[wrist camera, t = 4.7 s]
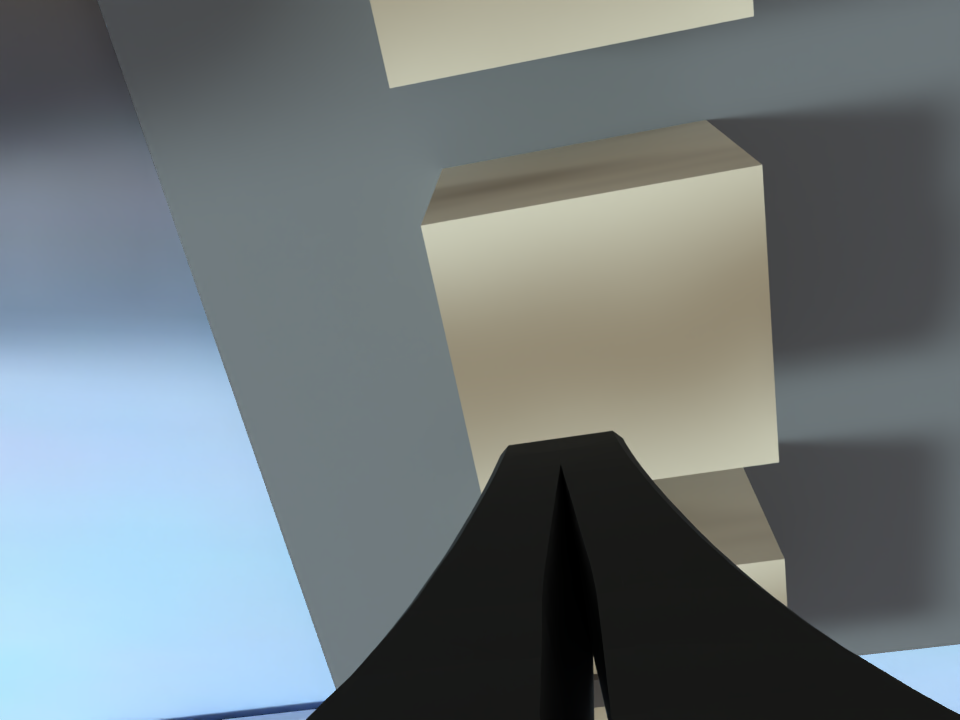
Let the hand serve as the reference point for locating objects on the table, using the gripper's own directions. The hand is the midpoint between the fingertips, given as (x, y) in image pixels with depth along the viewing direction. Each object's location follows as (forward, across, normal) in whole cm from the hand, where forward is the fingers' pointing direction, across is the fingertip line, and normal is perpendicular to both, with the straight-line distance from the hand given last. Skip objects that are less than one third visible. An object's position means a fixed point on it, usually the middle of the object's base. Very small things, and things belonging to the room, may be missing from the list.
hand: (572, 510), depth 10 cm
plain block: (+8, -1, 0) cm, 8 cm away
